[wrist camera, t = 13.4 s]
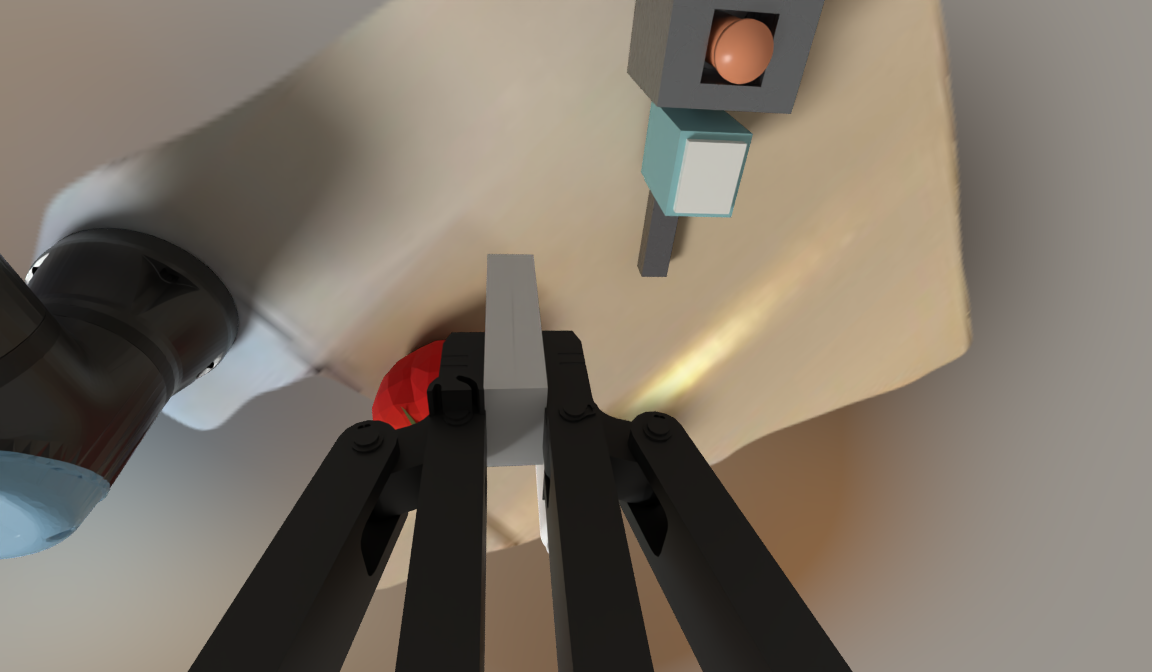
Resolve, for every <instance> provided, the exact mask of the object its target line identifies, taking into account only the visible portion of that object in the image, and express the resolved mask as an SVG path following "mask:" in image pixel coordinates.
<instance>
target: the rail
mask: <svg viewBox="0 0 1152 672" xmlns="http://www.w3.org/2000/svg"><path fill="white" fill-rule="evenodd" d="M678 217H679V216H665V215H664V213H663V211H662V209H661V208H660V206H659V204H658V203H657V201H656V199H655V197H654V196H653V194H652V192H651V190H650V191H649V197H648V203H647V209H646V216H645V222H644V228H643V234H642V240H641V246H640V253H639V259H638V265H637V266H638V269H639V271H640V274H641V276H642V277H667V272H668V267H669V262H670V257H671V252H672V247H673V242H674V237H675V232H676V227H677V222H678Z"/></svg>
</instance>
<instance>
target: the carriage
mask: <svg viewBox="0 0 1152 672" xmlns="http://www.w3.org/2000/svg"><path fill="white" fill-rule="evenodd" d="M752 135H753V134H752V133H751V132H750V131H749V130H747V129H746V128H745V127H744V126H742V125H741V124H740V123H739V122H738V121H736V120H735V119H734V118H733V117H732V116H730V115H729V114H728V113H727V112H725V111H724V110H708V109H689V108H670V107H657V106H656V105H655V104H654V103H653V102H652V103H651V109H650V116H649V123H648V129H647V136H646V143H645V149H644V156H643V163H642V170H641V173H642V174H643V176H644V178H645V182H646V183H647V185H648V187H649V189H650V190H651V192H652V194H653V196H654V197H655V199H656V201H657V203H658V204H659V206H660V208H661V209H662V211H663V213H664V215H665V216H695V217H731V215H732V212H733V208H734V204H735V200H736V196H737V193H738V189H739V185H740V181H741V177H742V174H743V170H744V166H745V162H746V158H747V154H748V151H749V147H750V143H751V139H752Z"/></svg>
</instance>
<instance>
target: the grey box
mask: <svg viewBox="0 0 1152 672" xmlns="http://www.w3.org/2000/svg"><path fill="white" fill-rule="evenodd" d="M824 1H825V0H636V3H635V11H634V20H633V28H632V36H631V44H630V53H629V61H628V69H627V73H628V74H629V75H630V77H631V78H632V79H633V80H634V81H635V82H636V83H637V85H638V86H639V87H640V88H641V89H642V90H643V91H644V93H645V94H646V95H647V96H648V97H649V98H650V99H651V101H652V102H653V103H654V104H655V105H656V106H657V107H670V108H689V109H708V110H727V111H746V112H765V113H785V114H791V112H792V109H793V105H794V102H795V99H796V95H797V92H798V89H799V85H800V82H801V78H802V75H803V72H804V68H805V65H806V62H807V58H808V55H809V51H810V48H811V45H812V41H813V38H814V35H815V31H816V28H817V24H818V21H819V18H820V14H821V11H822V8H823V4H824ZM716 11H721V12H725V13H728V14H731V15H733V16H736V17H738V18H741V19H744V18H751V19H755V20H757V21H760V22H762V23H764V24H765V25H766V26H767V27H768V28H769V30H770V32H771V34H772V37H773V42H774V48H773V54H772V58H771V60H770V62H769V64H768V66H767V68H766V69H765V70H764V72H763V73H762V74H761V75H760V76H758V77H757V78H756V79H754V80H752V81H750V82H748V83H744V84H735V83H731V82H729V81H727V80H726V79H724V78H723V77H722V76H721V75H720V74H719V73H718V71H717V70H716V68H715V67H713V66H712V65H710V64H708V63H707V62H705V56H706V51H707V46H708V40H709V35H710V30H711V25H712V20H713V15H714V12H716Z"/></svg>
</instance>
